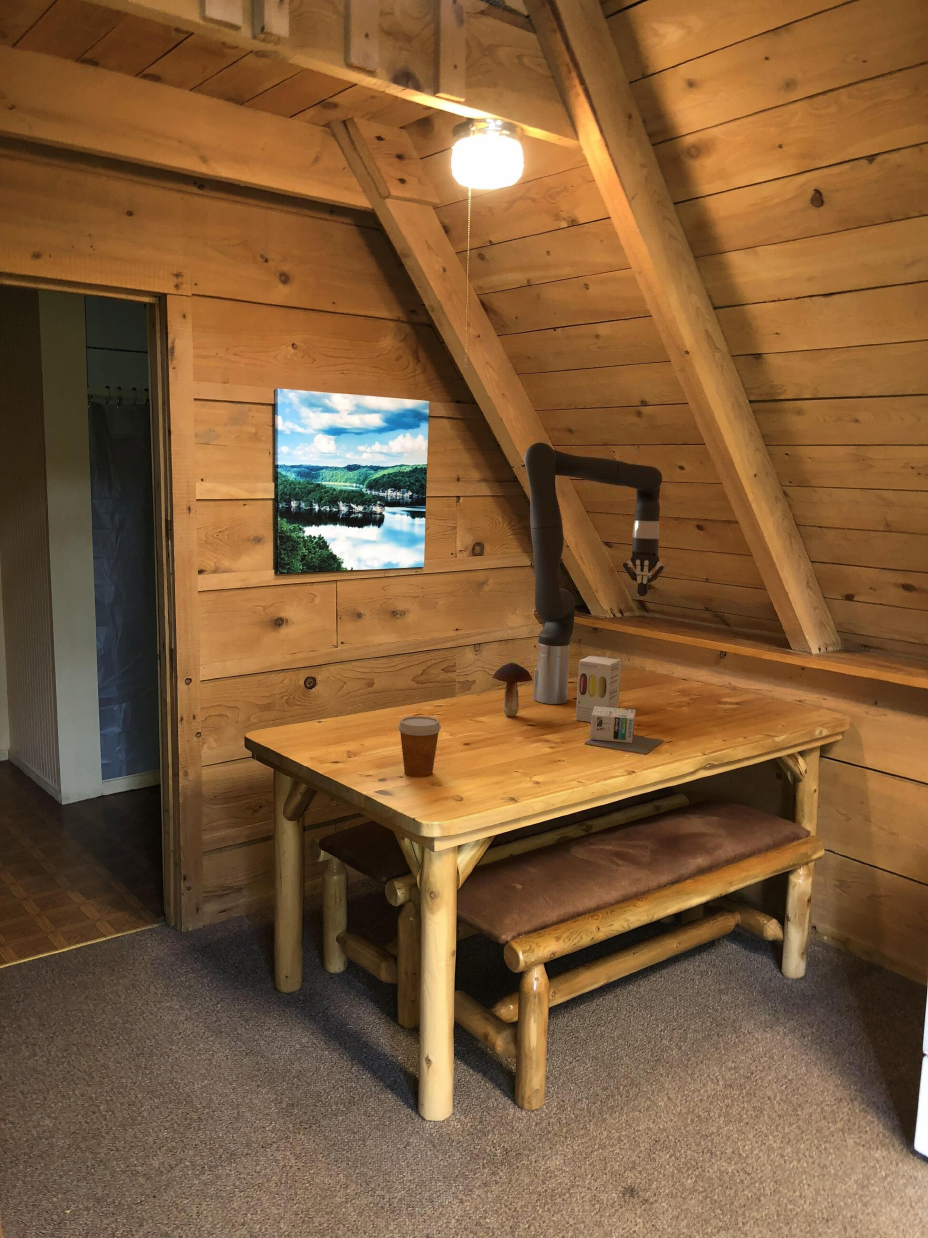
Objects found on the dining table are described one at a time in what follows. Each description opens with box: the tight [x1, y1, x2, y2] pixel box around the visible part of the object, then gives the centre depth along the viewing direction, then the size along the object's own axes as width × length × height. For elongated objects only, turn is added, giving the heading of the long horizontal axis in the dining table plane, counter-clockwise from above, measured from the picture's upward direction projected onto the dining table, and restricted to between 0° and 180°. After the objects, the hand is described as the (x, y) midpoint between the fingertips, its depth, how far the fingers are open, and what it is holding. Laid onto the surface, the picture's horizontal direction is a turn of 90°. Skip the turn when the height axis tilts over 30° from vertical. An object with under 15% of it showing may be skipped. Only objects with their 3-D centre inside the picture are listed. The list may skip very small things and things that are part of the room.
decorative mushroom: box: [491, 662, 533, 717], centre depth 273 cm, size 11×11×15 cm
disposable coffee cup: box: [397, 715, 442, 778], centre depth 222 cm, size 10×10×12 cm
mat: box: [584, 734, 665, 755], centre depth 252 cm, size 16×14×1 cm
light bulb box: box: [589, 706, 636, 743], centre depth 255 cm, size 11×7×11 cm
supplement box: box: [575, 655, 622, 723], centre depth 273 cm, size 10×9×17 cm
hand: (642, 595), depth 289 cm, fingers closed
